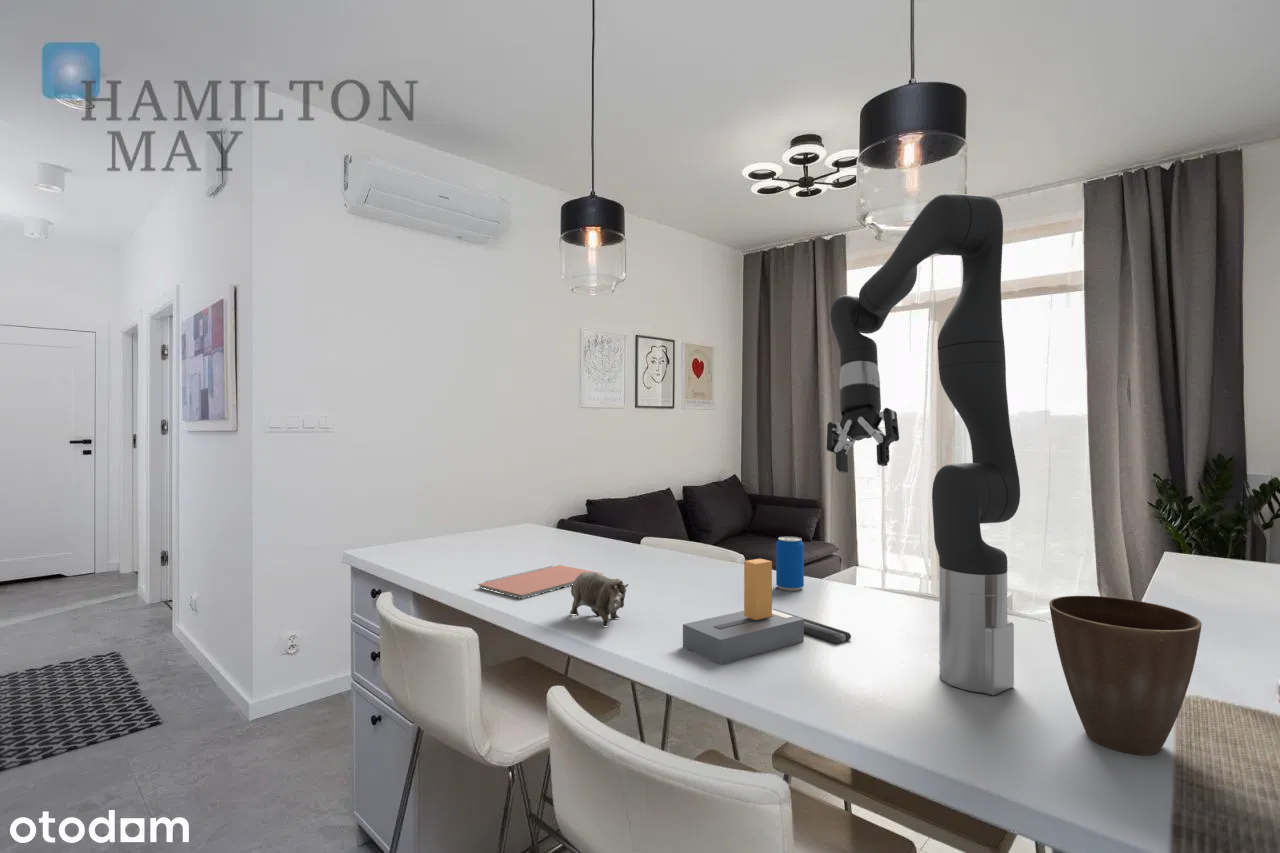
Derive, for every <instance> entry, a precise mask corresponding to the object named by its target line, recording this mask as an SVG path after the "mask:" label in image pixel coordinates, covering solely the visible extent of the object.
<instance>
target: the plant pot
mask: <svg viewBox="0 0 1280 853" xmlns="http://www.w3.org/2000/svg"><path fill="white" fill-rule="evenodd" d="M1048 606H1049V611H1050V618H1051V622H1052V629H1053V634H1054V638H1055V643H1056V647H1057V652H1058V656H1059V660H1060V663H1061V664H1060V665H1061V667H1062V670H1063V671H1062V672H1063V674H1064V677H1065V681H1066V684H1067V687H1068V690H1069V693H1070V696H1071V699H1072V701H1073V704H1074V706H1075V709H1076V712H1077V714H1078V717H1079V719H1080V722H1081V724H1082V726H1083V729H1084V731H1085V734H1086V735H1087V736H1088V737H1089V738H1090V739H1091V740H1092V741H1094V742H1096V743H1097V744H1099V745H1101V746H1104V747H1105V748H1108V749H1111V750H1114V751H1117V752H1118V751H1119V752H1122V753H1125V754H1131V755H1142V756H1149V755H1155V754H1157V753H1159V752H1160V751H1161V750H1162V748H1163V747H1164V745H1165V743H1166V742H1167V739H1168V737H1169V736H1170V733H1171V731H1172V729H1173V726H1174V725H1175V723H1176V720H1177V718H1178V716H1179V713H1180V712H1181V708H1182V705H1183V703H1184V700H1185V697H1186V694H1187V691H1188V689H1189V685H1190V683H1191V679H1192V675H1193V671H1194V668H1195V667H1194V666H1195V663H1196V662H1195V661H1196V658H1197V654H1198V647H1199V643H1200V637H1201V631H1202V626H1203V625H1202V624H1203V623H1202V622H1201V620H1200V619H1199V618H1198V617H1196V616H1194V615H1192V614H1190V613H1187V612H1185V611H1181V610H1180V609H1175V608H1173V607H1168V606H1165V605H1161V604H1156V603H1151V602H1147V601H1140V600H1135V599H1128V598H1120V597H1112V596H1100V595H1099V596H1097V595H1067V596H1058V597H1055V598H1053V599H1051V600H1050V601H1049V603H1048Z"/></svg>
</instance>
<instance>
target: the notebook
mask: <svg viewBox="0 0 1280 853" xmlns="http://www.w3.org/2000/svg"><path fill="white" fill-rule="evenodd" d="M584 572H589V573H593V572H594V571H593V570H587V569H583V568H582V569H581V568H577V567H572V566H566V565H561V564H560V565H559V564H558V565H555V566H554V565H550V566H545V567H542V568H538V569H533V570H529V571H528V570H527V571H524V572H519V573H515V574H511V575H506V576H502V577H497V578H494V579H490V580H489V579H488V580H485V581H484V582H482V583H478V584H477V586H479V587H480V588H481V587H482V588H486V589H489V590H493V591H497V592H500V593H504V594H508V595H512V596H516V597H520V598H524V597H528V596H532V595H535V594H539V593H543V592H547V591H550V590H554V589H558V588H561V587H565V586H569V585H572V584H573V583H574V581H575V579H576V578H577V577H578V576H579V575H580V574H581V573H584ZM597 573H599V574H601V575H604V574H603V572H598V571H597ZM569 587H570V586H569ZM558 590H559V589H558ZM547 593H548V592H547ZM508 595H507V596H508ZM512 596H511V597H512ZM516 597H515V598H516ZM520 598H519V599H520Z"/></svg>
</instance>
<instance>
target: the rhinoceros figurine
mask: <svg viewBox="0 0 1280 853" xmlns="http://www.w3.org/2000/svg"><path fill="white" fill-rule="evenodd" d="M597 572H598V571H597ZM597 572H596V571H593V573H589V572H584V573H581V574H580V575H579V576H578V577H577V578H576V579H575V581H574V583H573V585H572V586H570V587H571V588H570V594H571V596H572V597H573V601H572V608H571V610H570V612H569V615H570V614H577V615H578V614H579V610H578V608H579V607H581V606H584V607H589V608H591V611H592V613H593V614H596V615H597V616H600V615H601V616H600V617H601V619H602V623H603V624H602V625H603V626H607V625H608V623H609V616H610V618H611V619H614V618H620V616H619V615H618V614H617V611H618V610H619V609H623V608H624V606H625V597H626V592H627V587H628V586H629V584H628V583H626V584H625V583H624V582H623V580H622V579H620V578H610V577H608V576H605V575H604V574H599V573H600V572H598V573H597ZM603 626H602V627H603Z"/></svg>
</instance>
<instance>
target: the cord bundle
mask: <svg viewBox="0 0 1280 853" xmlns="http://www.w3.org/2000/svg"><path fill="white" fill-rule="evenodd" d="M773 609H774V610H777V611H780V612H783V613H786V614H789V615H792V616H796V617H799V618H802V619H804V634H807V635H811V636H812V637H813V636H814V637H816V638H819V639H822V640H825V641H828V642H831V643H834V644H840V642H841V643H844V642H845V641H850V640H851V639H852V635H851V633H850V632H848V631H845V630H842V629H838V628H835V627H833V626H828V625H826V624H823V623H820V622H816V621H814V620H810V619H808V618H803V617H800V616H798V615H795V614H791V613H788V612H785V611H781V610H779V609H775V608H773Z"/></svg>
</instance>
